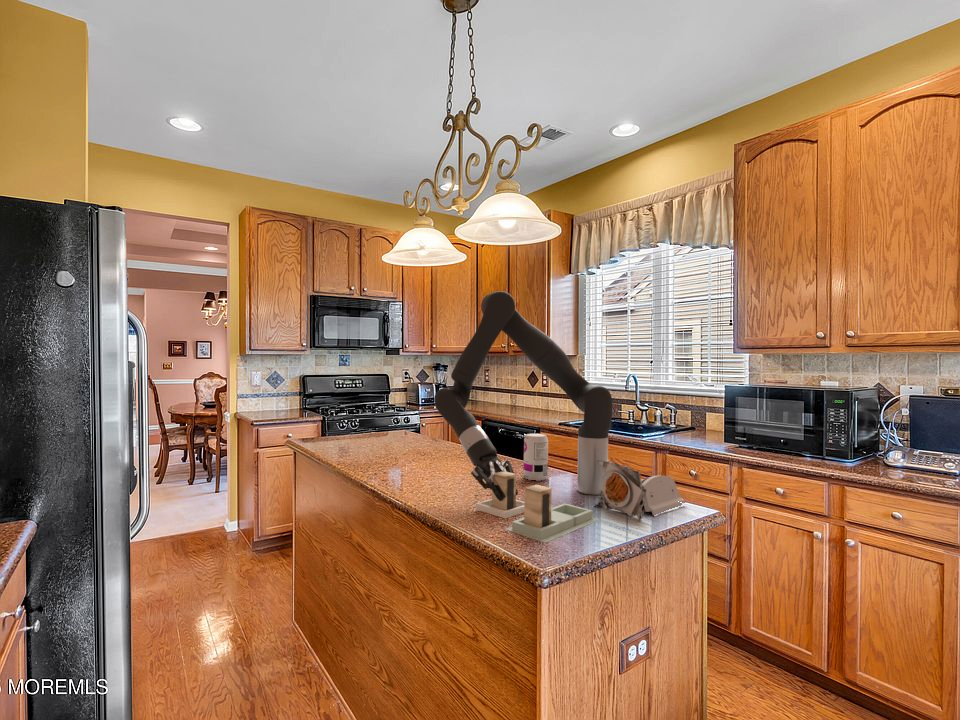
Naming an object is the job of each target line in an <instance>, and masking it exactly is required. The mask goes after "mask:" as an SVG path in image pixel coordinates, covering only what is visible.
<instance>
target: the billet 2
mask: <svg viewBox="0 0 960 720" xmlns="http://www.w3.org/2000/svg"><path fill="white" fill-rule="evenodd" d="M552 491H553V489H552V487H549V486H543V485H539V484H534V485H530V486H527V487H524V501H523V502H524V513H523V518H524V524H527V525H530V526H534V527H537V528H543V527H546V526H548V525H551V508H552V495H553V494H552V493H553V492H552Z"/></svg>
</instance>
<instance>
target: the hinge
mask: <svg viewBox="0 0 960 720" xmlns="http://www.w3.org/2000/svg"><path fill="white" fill-rule="evenodd" d="M641 482H642V484H643V485H644V487H645V488H646V494H645V498H644V502H645V503H644V505H643V506H642V511H643V510H644V513H647V512H648V513H649V512H651V513H652V516H653V515H656V514H659V513H661V512H664V511H666V510H669V509H672V508H675V507H678V506H681V505H682V503H686V501H685V499H683V498H682V497H681V496H680V493H679V492H680V491H679V490H678V487H677V484H676V482H675V480H674V478H673V477H671V476H667V475H661V474H660V475H653V476H652V475H651V476H648V477H646V478H643V479H642V480H641ZM641 490H643V489H642V488H641ZM644 493H645V492H643V493H642V495H644ZM678 501H679V502H678ZM680 502H682V503H680ZM642 504H643V500H641V502H640V505H642Z"/></svg>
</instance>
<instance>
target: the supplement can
mask: <svg viewBox="0 0 960 720" xmlns="http://www.w3.org/2000/svg"><path fill="white" fill-rule="evenodd" d="M548 463H549V439H548V437H547V435H546V434H544V433H536V432H535V433H527V434H525V436H524V439H523V473H522V474H523V477H524V478H525V480H527V479H528V480H527V481H531V480H536V481H535V482H541V480H542V481H545V480H546V479H548V476H549V475H548V474H549V473H548V471H549V464H548Z"/></svg>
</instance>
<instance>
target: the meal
mask: <svg viewBox="0 0 960 720" xmlns="http://www.w3.org/2000/svg"><path fill="white" fill-rule="evenodd" d="M597 462H598V464H599V465H600V466H601V469H602V470H603V472H604V476H603V477H602V481H601V483H600V486H599V489H600V490H601V491H600V497H598V499H599V500H598V501H597V503H596V504H595V505H593V508H601V509H606V510H614V511H618V512H620V513H622V512H624V513H623V514H626V513H627V516H629V517H630V516H633V517H635V516H636V518H637V520H638V521H639V520H640V521H641V520H642V518H643V517H644V513H645V512H644V510H643V511H642V506H643V505H644V503H645V502H644V498H645V494H646V488H645V487H644V485H643V484H642V482H641V478H642V475H641V472H640V471H638V470H637V471H636V470H635V469H632V468H631V467H630V466H627V465H623V464H619V463H617V462H613V461H610V462H606V461H600V460H599V461H598V460H597ZM641 488H642V489H643V490H641ZM643 492H645V493H644V495H642V493H643ZM641 500H643V504H642V505H640V502H641Z"/></svg>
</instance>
